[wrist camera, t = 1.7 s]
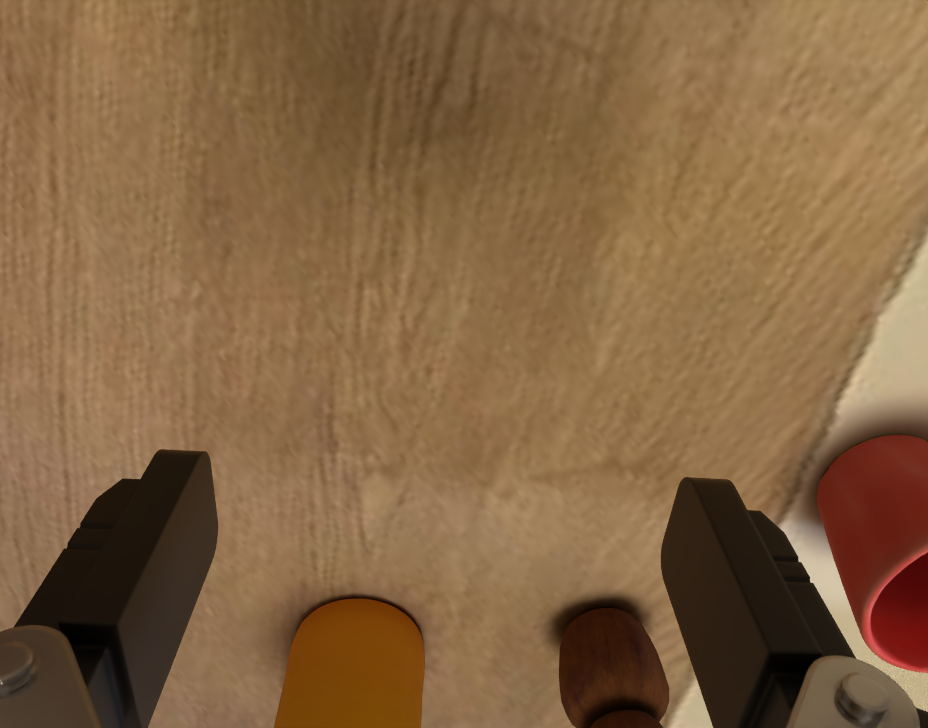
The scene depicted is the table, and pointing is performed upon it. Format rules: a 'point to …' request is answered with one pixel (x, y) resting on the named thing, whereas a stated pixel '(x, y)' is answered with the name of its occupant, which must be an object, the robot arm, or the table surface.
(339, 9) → the table surface
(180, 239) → the table surface
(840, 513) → the flower pot
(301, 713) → the beer bottle
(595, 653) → the wooden figurine
